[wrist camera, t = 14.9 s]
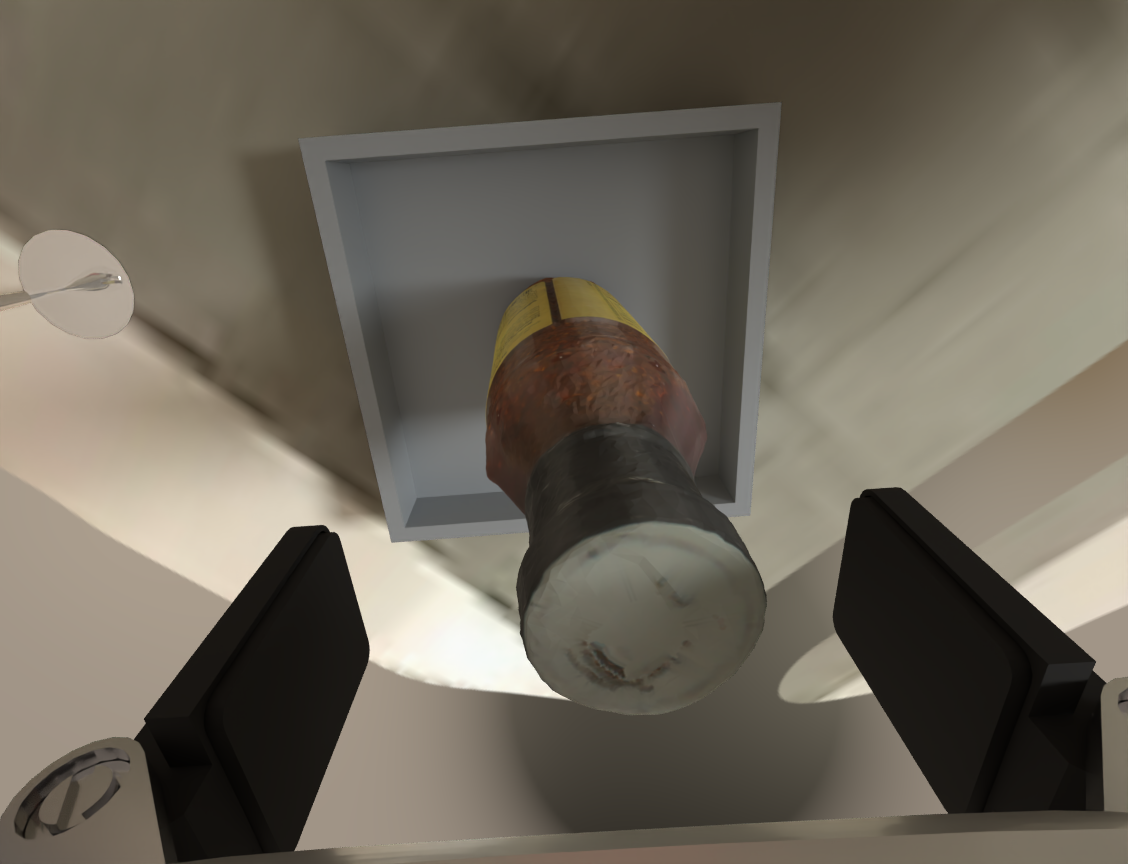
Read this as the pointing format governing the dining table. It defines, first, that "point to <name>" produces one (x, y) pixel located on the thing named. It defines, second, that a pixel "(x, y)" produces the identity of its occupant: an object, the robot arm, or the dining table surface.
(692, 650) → the sauce bottle
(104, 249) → the wineglass
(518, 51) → the dining table surface
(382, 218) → the parts tray
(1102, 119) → the dining table surface
